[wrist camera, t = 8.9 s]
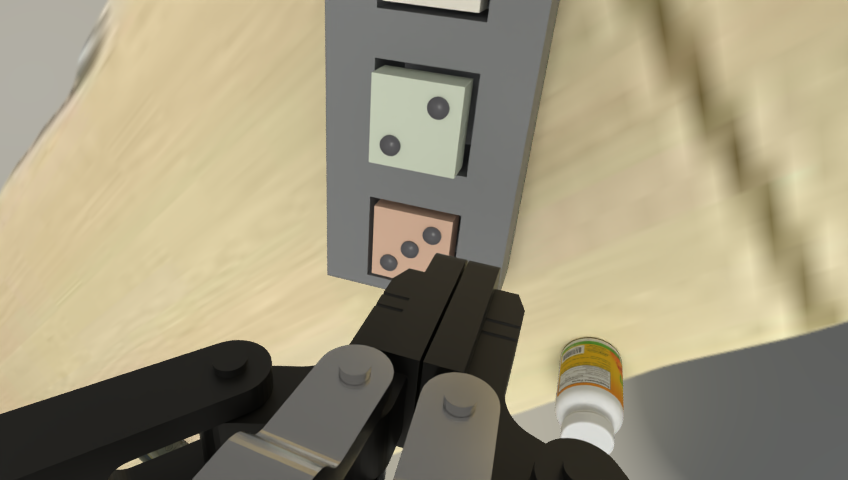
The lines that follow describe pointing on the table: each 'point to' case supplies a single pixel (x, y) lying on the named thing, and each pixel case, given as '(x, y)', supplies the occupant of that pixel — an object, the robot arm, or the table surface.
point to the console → (486, 132)
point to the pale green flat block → (419, 120)
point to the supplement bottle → (590, 392)
